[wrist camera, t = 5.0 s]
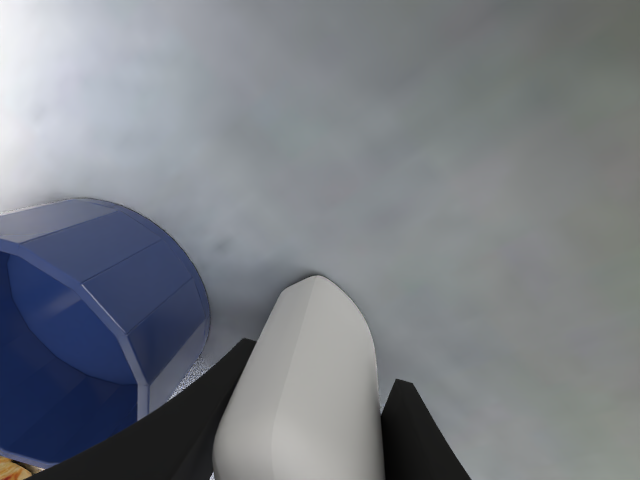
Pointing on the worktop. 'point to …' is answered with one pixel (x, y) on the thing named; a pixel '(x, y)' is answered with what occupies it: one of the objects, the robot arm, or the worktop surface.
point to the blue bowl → (90, 325)
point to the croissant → (12, 470)
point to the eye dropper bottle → (305, 395)
